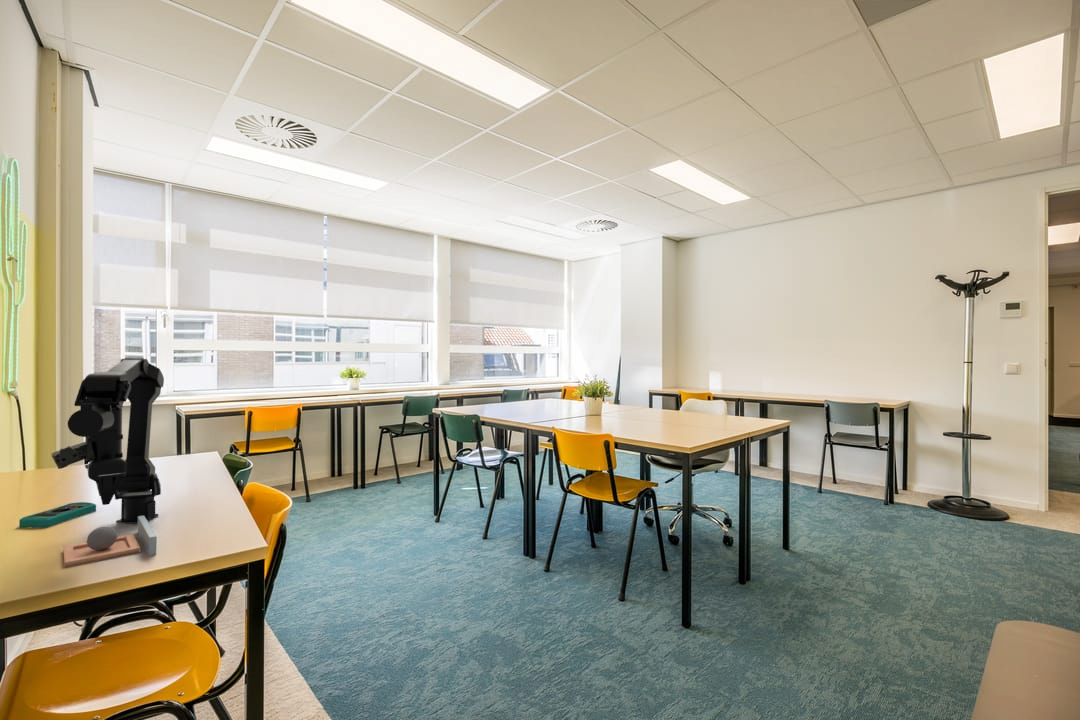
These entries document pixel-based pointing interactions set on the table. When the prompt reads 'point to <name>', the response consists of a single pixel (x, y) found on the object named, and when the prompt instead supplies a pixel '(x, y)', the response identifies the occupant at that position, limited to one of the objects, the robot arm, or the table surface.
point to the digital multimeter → (57, 515)
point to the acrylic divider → (147, 535)
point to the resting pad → (85, 554)
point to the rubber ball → (101, 538)
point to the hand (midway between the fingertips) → (104, 500)
